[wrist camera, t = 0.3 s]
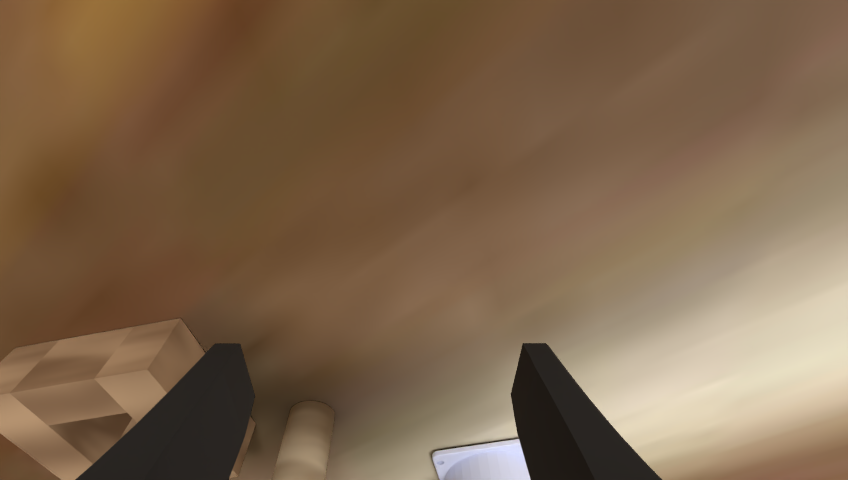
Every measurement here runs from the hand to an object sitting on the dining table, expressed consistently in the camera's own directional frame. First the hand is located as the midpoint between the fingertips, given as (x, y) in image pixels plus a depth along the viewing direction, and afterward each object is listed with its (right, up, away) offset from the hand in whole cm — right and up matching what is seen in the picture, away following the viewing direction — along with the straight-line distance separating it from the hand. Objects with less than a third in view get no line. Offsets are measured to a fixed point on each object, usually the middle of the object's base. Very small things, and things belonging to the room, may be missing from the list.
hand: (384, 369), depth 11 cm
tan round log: (-6, -8, +17) cm, 20 cm away
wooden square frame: (-16, -6, +15) cm, 23 cm away
